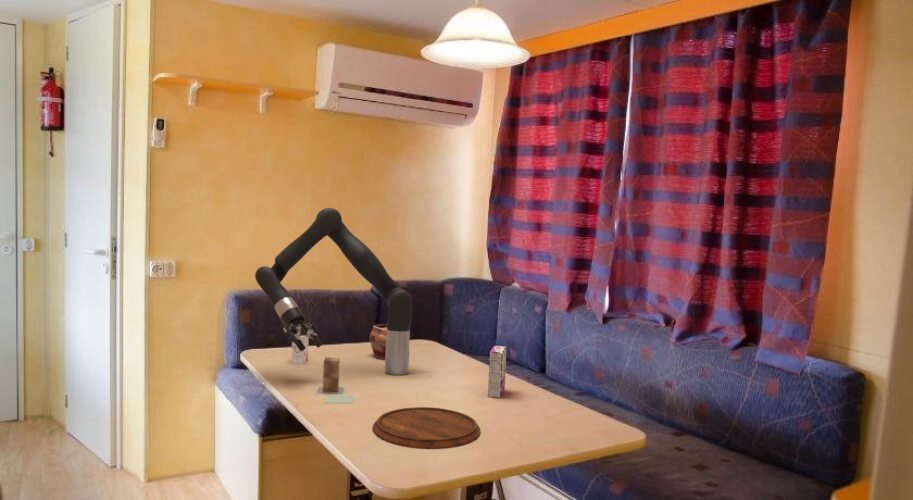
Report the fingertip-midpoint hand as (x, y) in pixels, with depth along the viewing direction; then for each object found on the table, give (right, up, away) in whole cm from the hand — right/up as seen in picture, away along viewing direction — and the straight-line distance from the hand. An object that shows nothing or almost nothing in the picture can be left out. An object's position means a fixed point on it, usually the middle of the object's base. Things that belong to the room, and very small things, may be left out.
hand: (311, 348), depth 232 cm
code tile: (+8, -15, -4) cm, 17 cm away
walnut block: (+8, -14, -4) cm, 17 cm away
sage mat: (+12, -15, -14) cm, 24 cm away
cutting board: (+43, -19, -39) cm, 61 cm away
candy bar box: (+66, -17, +4) cm, 68 cm away
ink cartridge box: (-13, -11, +37) cm, 41 cm away
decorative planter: (+19, -12, +54) cm, 59 cm away
